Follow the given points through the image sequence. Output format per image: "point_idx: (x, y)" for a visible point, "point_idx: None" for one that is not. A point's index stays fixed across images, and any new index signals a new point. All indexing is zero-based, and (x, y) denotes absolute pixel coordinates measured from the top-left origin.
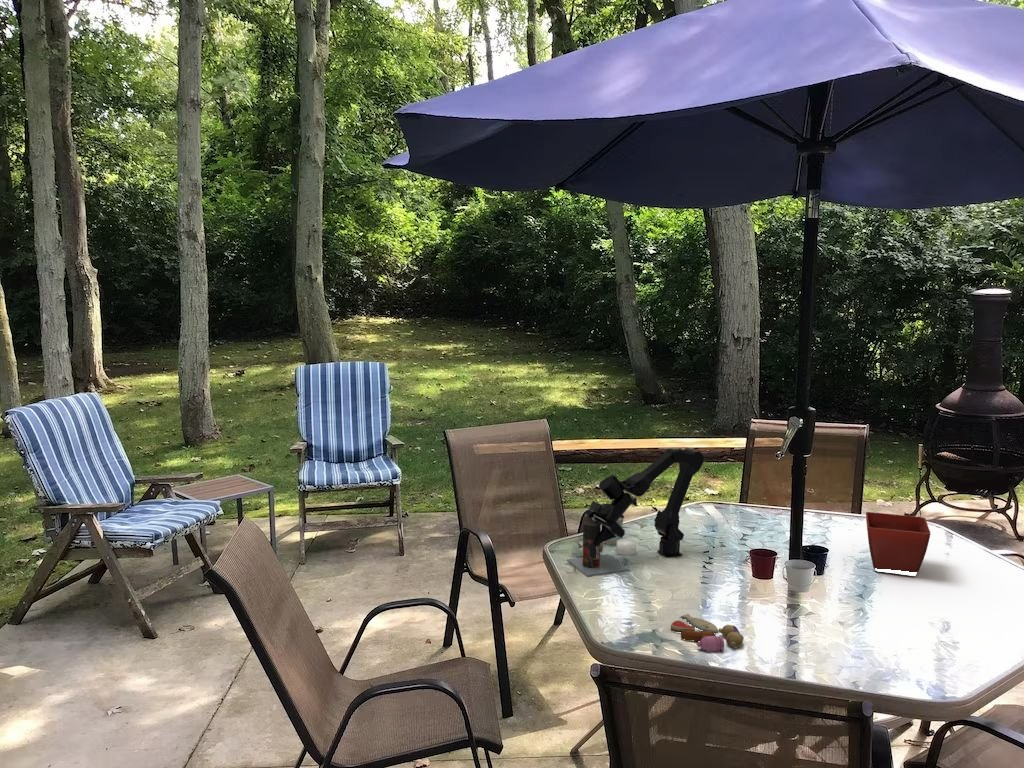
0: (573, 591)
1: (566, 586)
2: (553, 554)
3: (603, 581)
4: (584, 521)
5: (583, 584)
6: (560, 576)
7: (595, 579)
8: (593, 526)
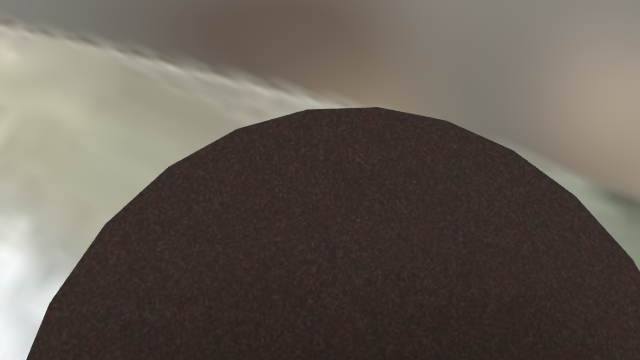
0: (22, 54)
1: (100, 52)
2: (574, 184)
3: (44, 271)
4: (606, 232)
5: (74, 138)
6: (238, 81)
7: None
8: (61, 318)
